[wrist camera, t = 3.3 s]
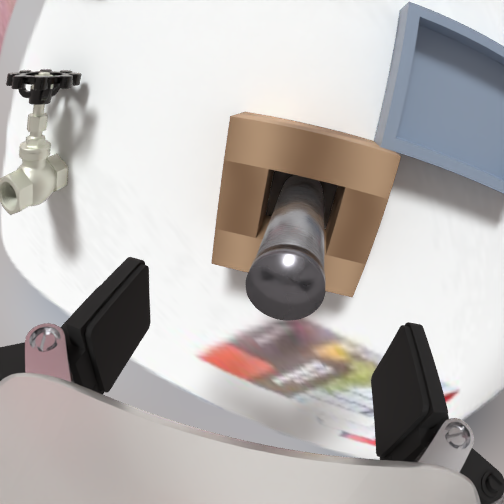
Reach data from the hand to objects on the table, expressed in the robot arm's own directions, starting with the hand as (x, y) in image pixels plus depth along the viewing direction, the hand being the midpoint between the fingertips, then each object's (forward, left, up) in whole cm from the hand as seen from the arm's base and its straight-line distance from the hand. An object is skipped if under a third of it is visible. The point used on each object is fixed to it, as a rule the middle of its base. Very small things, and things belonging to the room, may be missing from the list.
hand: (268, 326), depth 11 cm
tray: (-10, -10, -14) cm, 20 cm away
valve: (+22, -2, -14) cm, 26 cm away
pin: (0, 0, -14) cm, 14 cm away
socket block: (0, 0, -14) cm, 14 cm away
